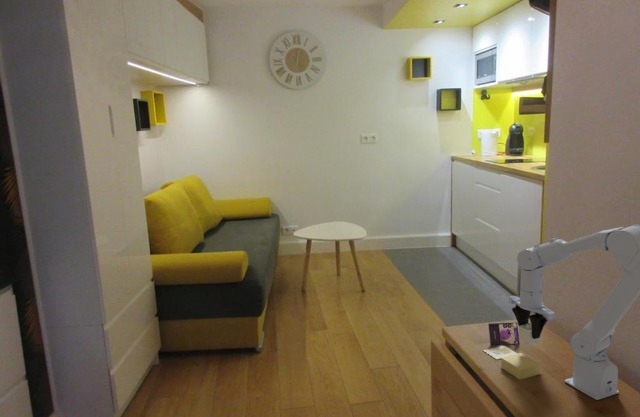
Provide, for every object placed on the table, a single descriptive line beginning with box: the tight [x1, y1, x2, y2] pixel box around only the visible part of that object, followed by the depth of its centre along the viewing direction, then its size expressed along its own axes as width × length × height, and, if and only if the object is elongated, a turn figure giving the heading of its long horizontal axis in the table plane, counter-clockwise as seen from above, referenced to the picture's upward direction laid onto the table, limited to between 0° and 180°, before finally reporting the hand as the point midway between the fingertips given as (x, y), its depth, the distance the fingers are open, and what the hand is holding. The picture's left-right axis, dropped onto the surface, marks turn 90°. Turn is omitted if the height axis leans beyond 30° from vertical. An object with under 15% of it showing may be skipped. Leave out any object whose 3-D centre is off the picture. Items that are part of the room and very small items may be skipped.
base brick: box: [500, 352, 541, 381], centre depth 126 cm, size 7×7×3 cm
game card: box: [488, 322, 520, 347], centre depth 143 cm, size 7×5×9 cm
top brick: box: [518, 322, 541, 346], centre depth 129 cm, size 4×4×5 cm
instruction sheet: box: [482, 345, 518, 361], centre depth 136 cm, size 6×8×1 cm
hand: (529, 334), depth 129 cm, fingers closed on top brick, 4 cm apart
